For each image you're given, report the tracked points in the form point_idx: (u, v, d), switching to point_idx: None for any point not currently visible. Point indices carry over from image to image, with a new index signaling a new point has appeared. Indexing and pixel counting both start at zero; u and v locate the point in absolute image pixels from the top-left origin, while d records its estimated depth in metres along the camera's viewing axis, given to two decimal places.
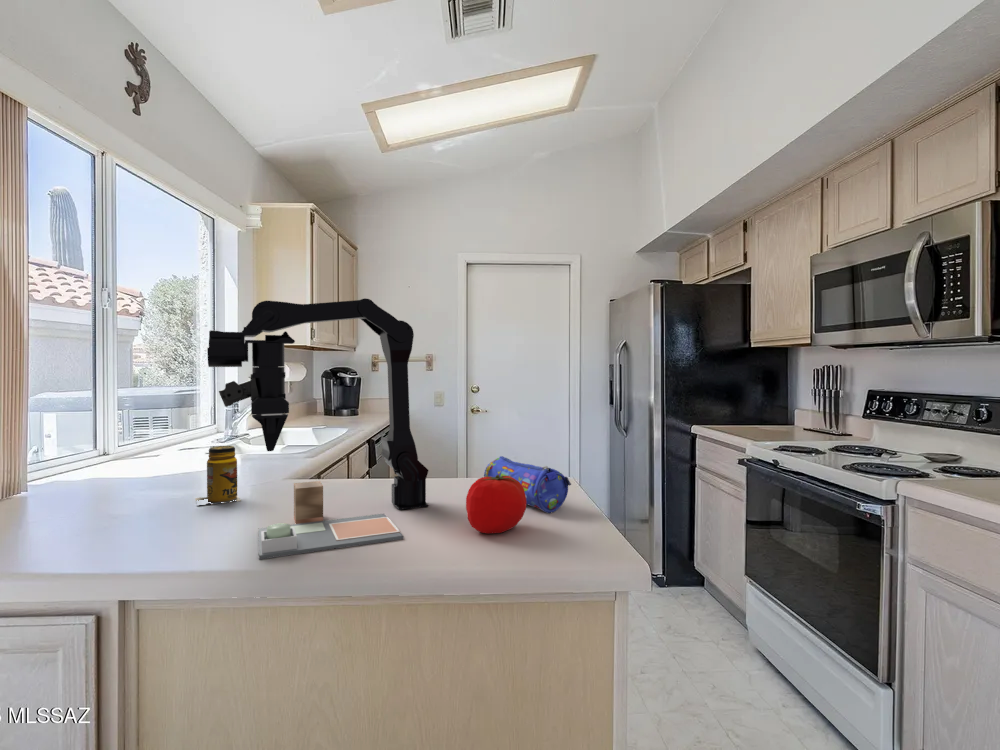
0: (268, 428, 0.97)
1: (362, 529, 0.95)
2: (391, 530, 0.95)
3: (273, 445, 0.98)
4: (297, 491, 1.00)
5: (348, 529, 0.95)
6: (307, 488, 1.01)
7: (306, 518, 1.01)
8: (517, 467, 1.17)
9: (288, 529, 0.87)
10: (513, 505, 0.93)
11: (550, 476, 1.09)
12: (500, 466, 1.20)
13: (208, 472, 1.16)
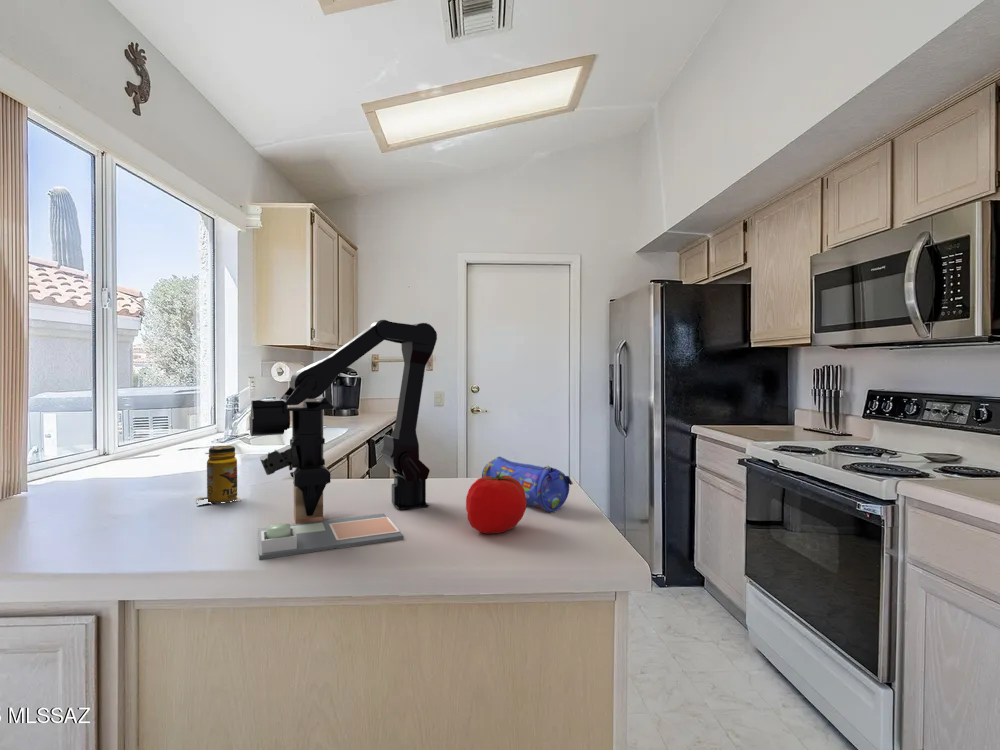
0: (308, 494, 1.00)
1: (362, 529, 0.95)
2: (391, 530, 0.95)
3: (312, 510, 1.01)
4: (297, 491, 1.00)
5: (348, 529, 0.95)
6: None
7: (306, 518, 1.01)
8: (517, 467, 1.17)
9: (288, 529, 0.87)
10: (513, 505, 0.93)
11: (552, 475, 1.09)
12: (499, 466, 1.19)
13: (208, 472, 1.16)
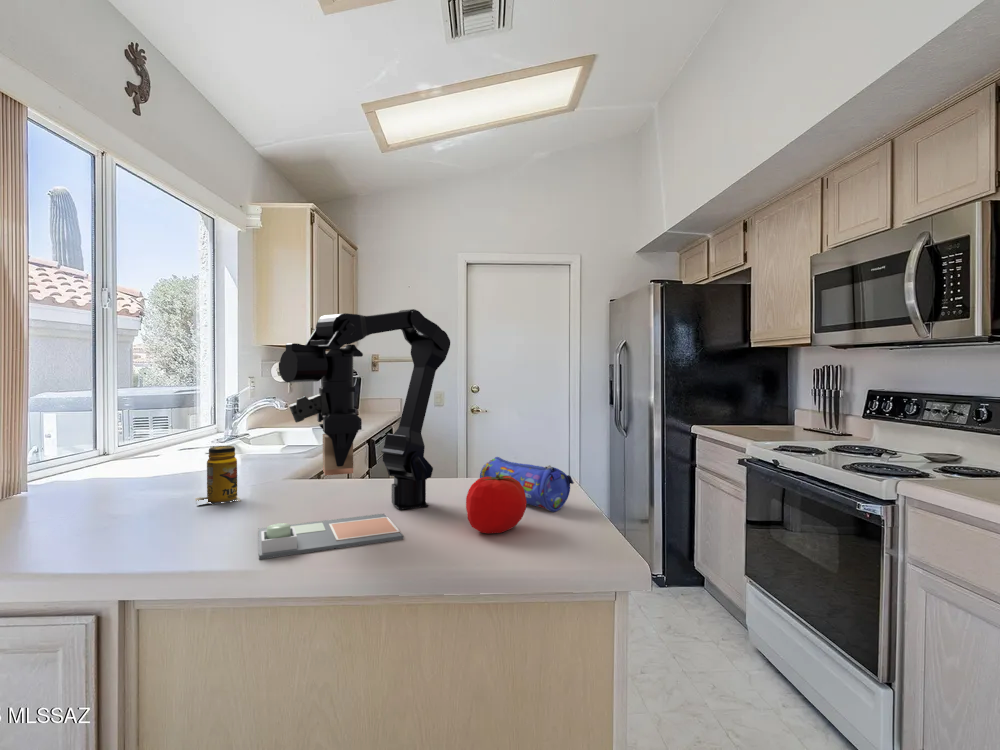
0: (338, 443, 0.95)
1: (362, 529, 0.95)
2: (391, 530, 0.95)
3: (343, 460, 0.97)
4: (326, 440, 0.96)
5: (348, 529, 0.95)
6: None
7: (336, 468, 0.97)
8: (517, 467, 1.16)
9: (288, 529, 0.87)
10: (513, 505, 0.93)
11: (555, 475, 1.10)
12: (498, 466, 1.19)
13: (208, 472, 1.16)
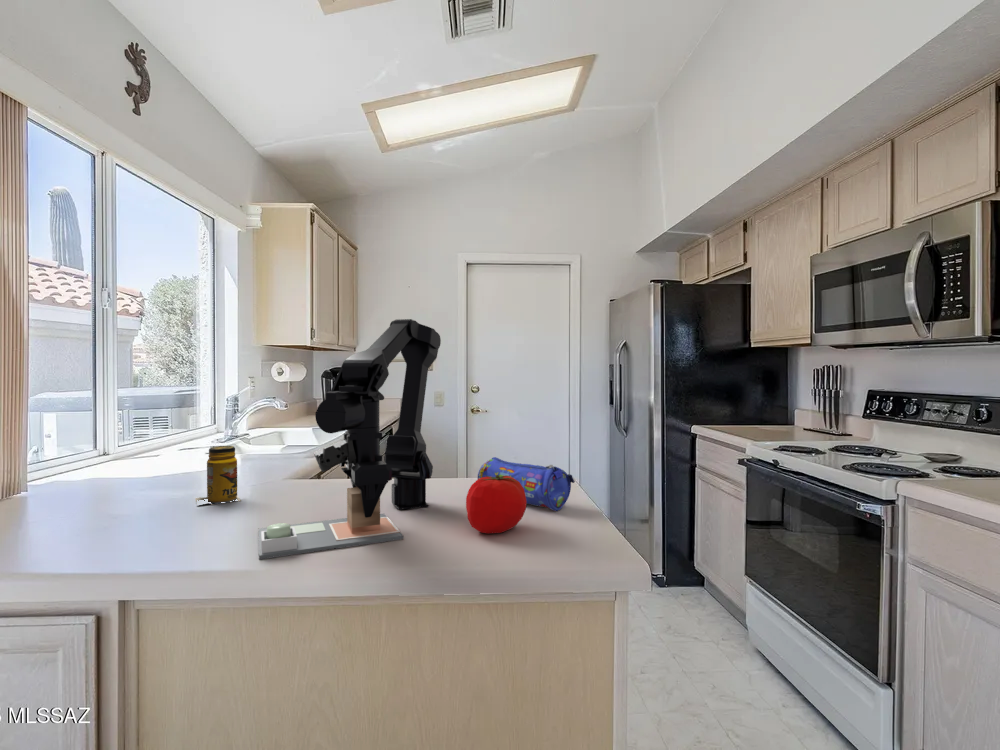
0: (367, 494, 0.92)
1: None
2: (391, 530, 0.95)
3: (371, 511, 0.93)
4: (353, 497, 0.93)
5: (348, 529, 0.95)
6: None
7: (362, 526, 0.94)
8: (517, 467, 1.16)
9: (288, 529, 0.87)
10: (513, 505, 0.93)
11: (557, 474, 1.10)
12: (497, 467, 1.18)
13: (208, 472, 1.16)
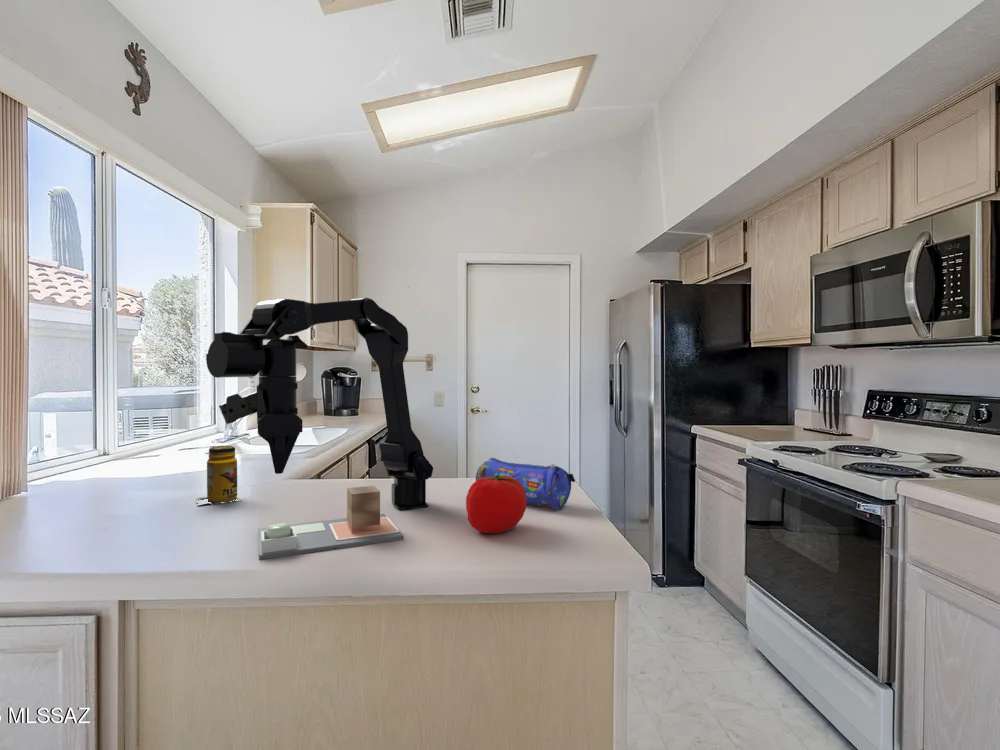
0: (277, 447, 0.84)
1: None
2: (391, 530, 0.95)
3: (282, 467, 0.85)
4: (353, 497, 0.93)
5: (348, 529, 0.95)
6: (363, 493, 0.94)
7: (362, 526, 0.94)
8: (517, 467, 1.16)
9: (288, 529, 0.87)
10: (513, 505, 0.93)
11: (559, 474, 1.11)
12: (496, 467, 1.18)
13: (208, 472, 1.16)
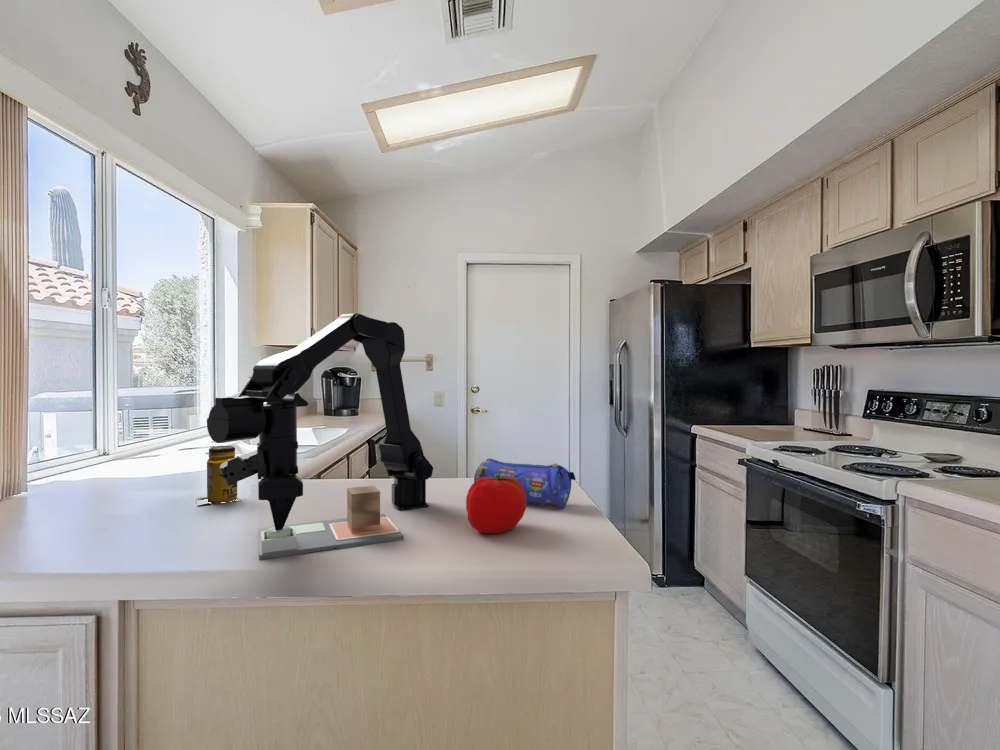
0: (277, 505, 0.85)
1: None
2: (391, 530, 0.95)
3: (282, 523, 0.87)
4: (353, 497, 0.93)
5: (348, 529, 0.95)
6: (363, 493, 0.94)
7: (362, 526, 0.94)
8: (517, 468, 1.16)
9: (288, 532, 0.87)
10: (513, 504, 0.93)
11: (563, 472, 1.12)
12: (496, 468, 1.17)
13: (208, 472, 1.16)
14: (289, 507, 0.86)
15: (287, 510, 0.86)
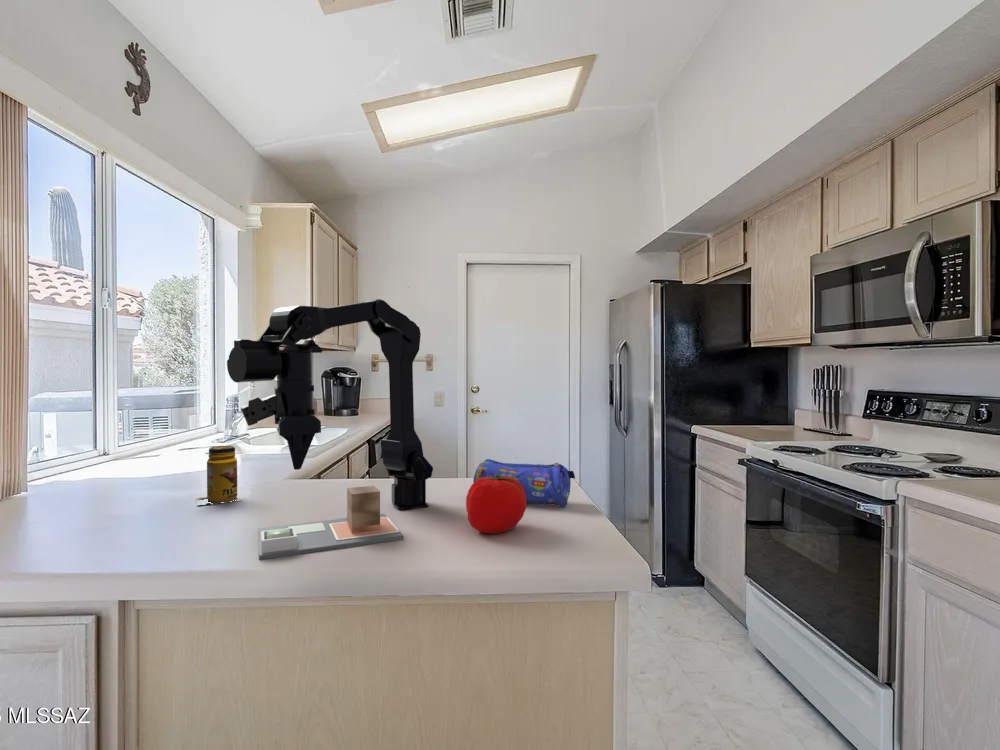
0: (295, 445, 0.90)
1: None
2: (391, 530, 0.95)
3: (300, 463, 0.91)
4: (353, 497, 0.93)
5: (348, 529, 0.95)
6: (363, 493, 0.94)
7: (362, 526, 0.94)
8: (518, 468, 1.16)
9: (288, 535, 0.87)
10: (513, 504, 0.93)
11: (564, 471, 1.13)
12: (496, 468, 1.17)
13: (208, 472, 1.16)
14: (307, 447, 0.91)
15: (305, 450, 0.91)
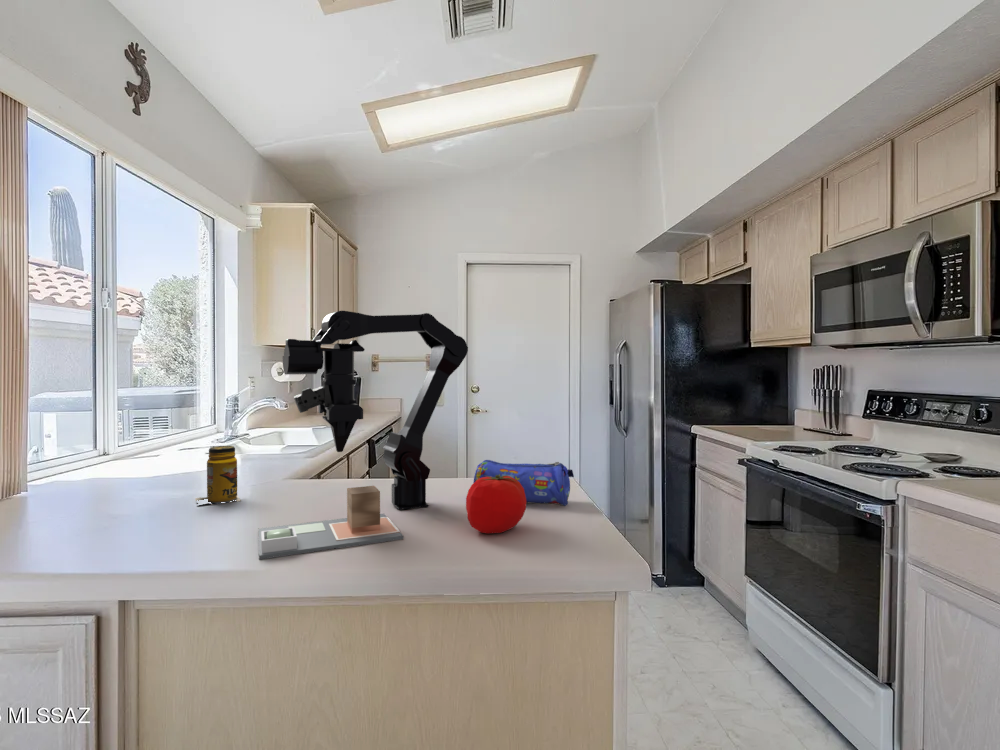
0: (339, 431, 1.04)
1: None
2: (391, 530, 0.95)
3: (342, 446, 1.05)
4: (353, 497, 0.93)
5: (348, 529, 0.95)
6: (363, 493, 0.94)
7: (362, 526, 0.94)
8: (518, 468, 1.16)
9: (288, 535, 0.87)
10: (513, 504, 0.93)
11: (565, 470, 1.14)
12: (496, 469, 1.16)
13: (208, 472, 1.16)
14: (348, 433, 1.05)
15: (346, 435, 1.05)
